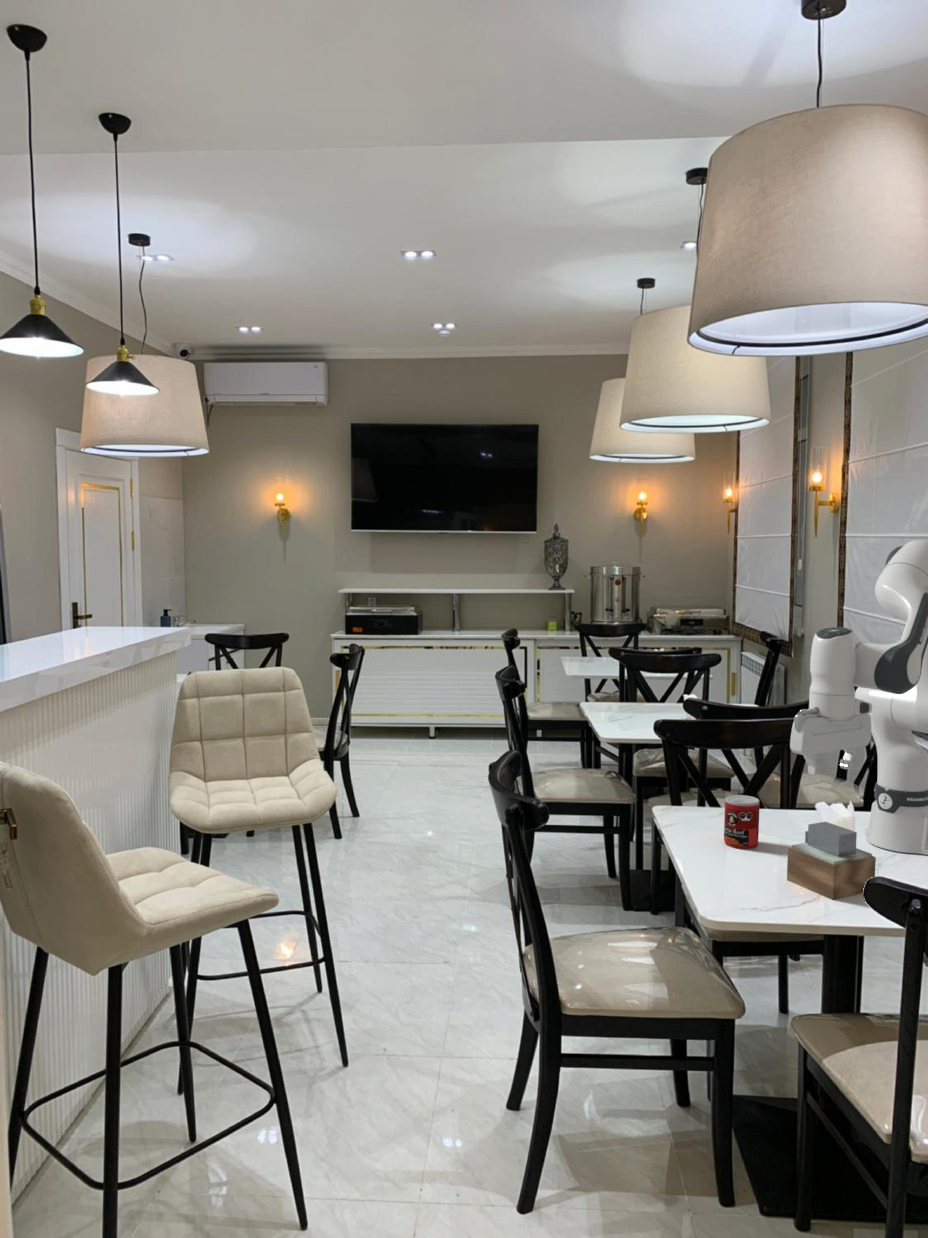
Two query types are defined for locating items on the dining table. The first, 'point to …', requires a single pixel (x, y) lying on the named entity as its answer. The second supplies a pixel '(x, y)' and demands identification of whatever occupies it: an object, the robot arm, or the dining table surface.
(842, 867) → the stand
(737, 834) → the canned food
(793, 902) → the dining table surface
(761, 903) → the dining table surface
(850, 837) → the block
